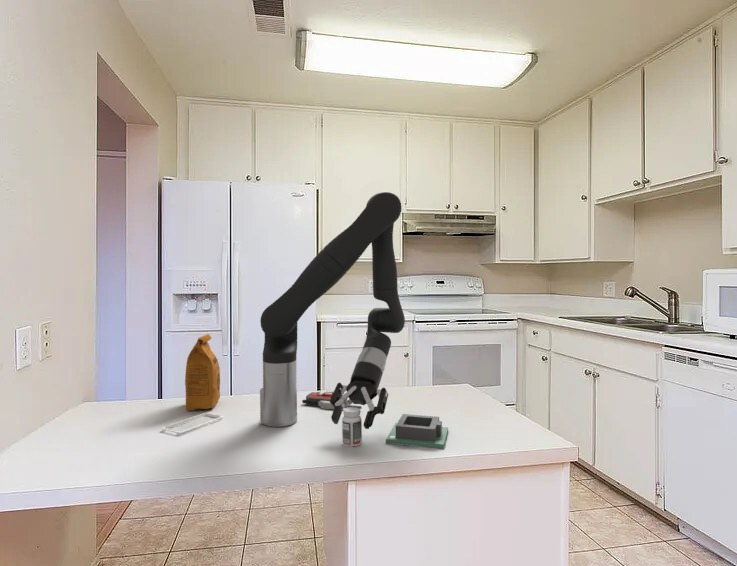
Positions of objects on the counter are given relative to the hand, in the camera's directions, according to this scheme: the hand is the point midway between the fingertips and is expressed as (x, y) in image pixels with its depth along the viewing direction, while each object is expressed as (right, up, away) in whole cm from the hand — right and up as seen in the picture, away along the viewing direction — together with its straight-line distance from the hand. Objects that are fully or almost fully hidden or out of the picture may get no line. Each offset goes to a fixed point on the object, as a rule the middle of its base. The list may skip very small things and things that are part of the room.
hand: (349, 425), depth 109 cm
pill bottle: (0, -5, +1) cm, 5 cm away
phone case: (-44, -5, +15) cm, 46 cm away
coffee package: (-47, -4, +32) cm, 57 cm away
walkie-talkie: (-6, -5, +33) cm, 34 cm away
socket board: (+17, -5, +5) cm, 18 cm away
